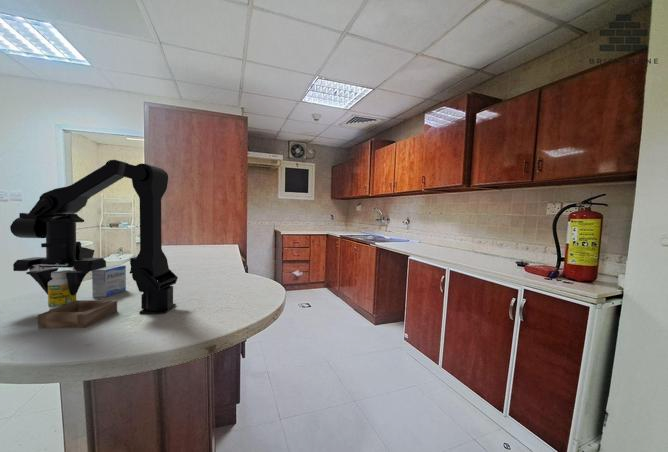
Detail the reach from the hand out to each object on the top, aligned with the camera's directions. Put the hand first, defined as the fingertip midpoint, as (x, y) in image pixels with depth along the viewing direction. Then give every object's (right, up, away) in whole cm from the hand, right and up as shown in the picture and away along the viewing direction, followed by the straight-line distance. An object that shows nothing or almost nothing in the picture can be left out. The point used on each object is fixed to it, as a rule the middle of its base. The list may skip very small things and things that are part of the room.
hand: (62, 295), depth 71 cm
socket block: (+12, -4, -7) cm, 14 cm away
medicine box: (+1, -3, +13) cm, 14 cm away
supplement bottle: (0, -3, 0) cm, 3 cm away
